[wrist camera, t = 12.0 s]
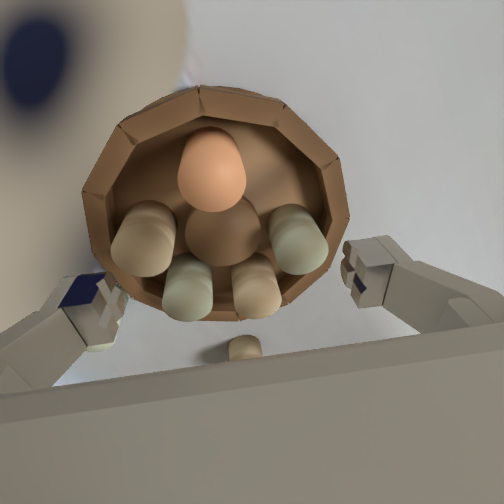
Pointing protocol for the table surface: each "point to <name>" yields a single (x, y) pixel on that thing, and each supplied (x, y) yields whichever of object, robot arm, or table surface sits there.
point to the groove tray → (216, 223)
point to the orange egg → (211, 170)
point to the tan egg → (244, 348)
